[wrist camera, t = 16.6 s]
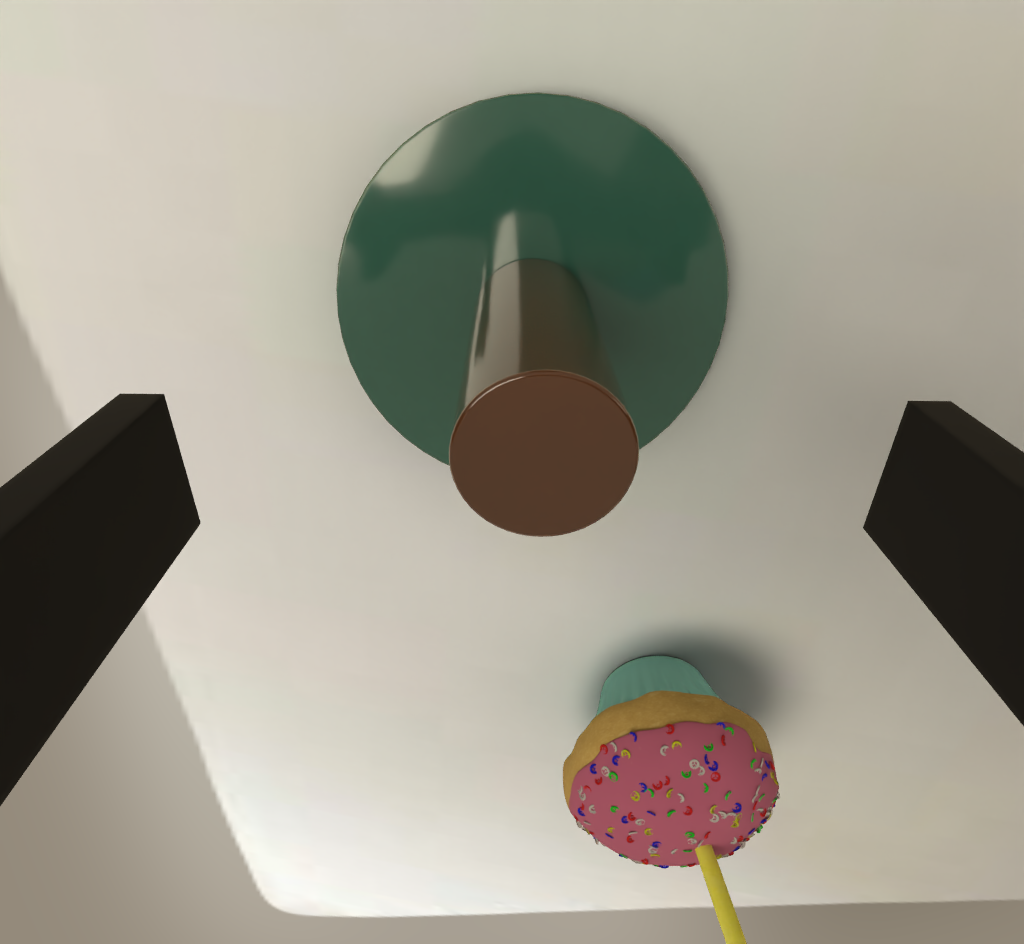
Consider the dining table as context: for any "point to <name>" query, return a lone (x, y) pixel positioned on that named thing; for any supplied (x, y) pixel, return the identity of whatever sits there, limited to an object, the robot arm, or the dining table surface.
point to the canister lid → (533, 301)
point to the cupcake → (672, 774)
